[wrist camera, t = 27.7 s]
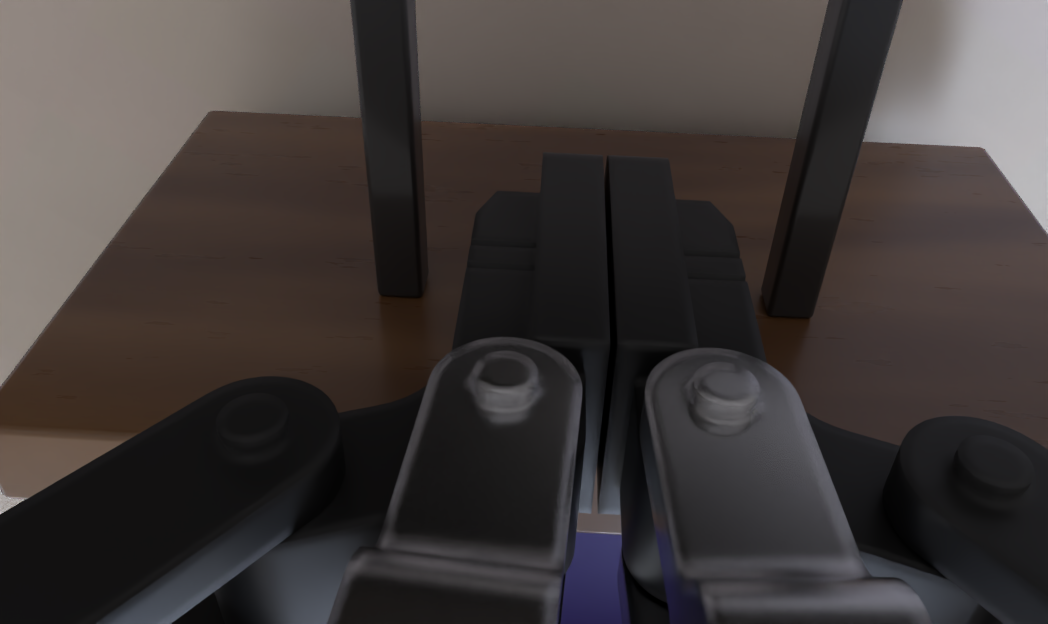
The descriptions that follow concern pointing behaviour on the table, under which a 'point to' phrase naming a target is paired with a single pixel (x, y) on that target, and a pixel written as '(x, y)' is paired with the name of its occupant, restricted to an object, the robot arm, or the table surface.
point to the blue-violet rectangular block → (593, 581)
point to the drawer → (516, 165)
